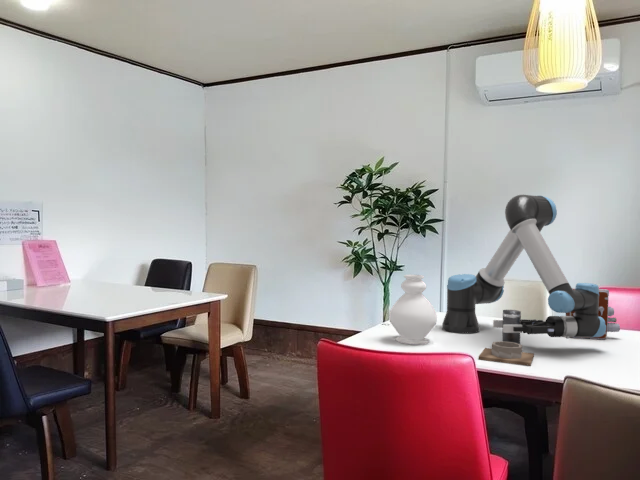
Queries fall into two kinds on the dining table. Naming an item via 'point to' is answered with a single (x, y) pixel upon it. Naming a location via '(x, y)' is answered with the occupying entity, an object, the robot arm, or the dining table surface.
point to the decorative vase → (413, 312)
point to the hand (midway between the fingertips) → (498, 326)
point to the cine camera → (603, 314)
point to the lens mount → (507, 353)
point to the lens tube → (511, 319)
